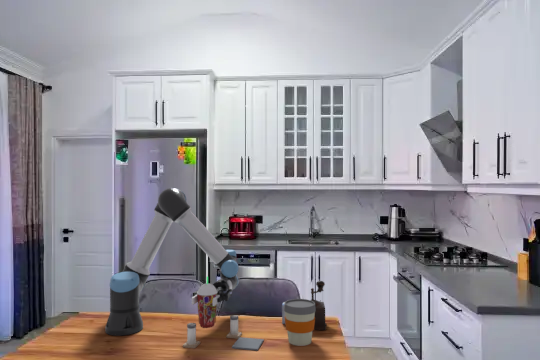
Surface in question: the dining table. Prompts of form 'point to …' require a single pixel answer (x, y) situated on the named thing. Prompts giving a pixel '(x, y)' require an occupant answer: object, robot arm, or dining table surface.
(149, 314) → the dining table surface
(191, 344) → the post near
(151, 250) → the robot arm
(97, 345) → the dining table surface
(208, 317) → the smoothie
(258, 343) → the mat
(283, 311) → the medicine box
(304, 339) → the reusable coffee cup
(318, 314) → the pepper mill
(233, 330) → the post far
